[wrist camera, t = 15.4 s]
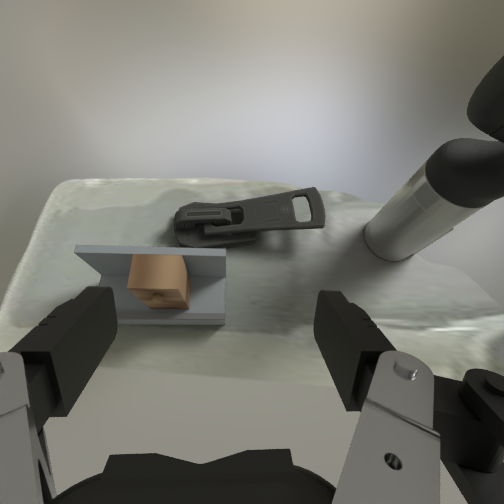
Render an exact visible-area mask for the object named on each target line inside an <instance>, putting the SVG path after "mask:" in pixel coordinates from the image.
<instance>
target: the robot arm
mask: <svg viewBox="0 0 504 504" xmlns="http://www.w3.org/2000/svg"><path fill="white" fill-rule="evenodd" d="M467 116H468V118H469V120H470V122H471V123H472V124H473V125H474V126H476V127H477V128H478V129H479V130H481V131H483V132H485V133H486V134H489V136H491V137H493V138H495V139H497V140H499V141H485V140H477V139H470V138H460V139H454V140H451V141H448V142H446V143H445V144H443V145H442V146H441V147H439V148H438V149H437V150H436V151H435V152H434V153H433V154H432V155H431V157H430V158H429V159H428V160H427V161H426V162H425V163H424V164H423V165H422V166H421V167H420V168H419V170H417V172H416V173H415V174H414V175H413V176H412V177H411V178H410V179H409V181H407V182H406V183H405V184H404V186H403V187H402V188H401V189H400V190H399V191H398V192H397V193H396V194H395V195H394V196H393V197H392V198H391V200H389V202H388V203H387V204H386V205H385V206H384V207H383V208H382V209H381V210H380V211H379V212H378V213H377V214H376V215H375V216H374V218H373V219H372V220H371V221H370V222H369V223H368V224H367V226H366V228H365V233H364V234H365V240H366V243H367V245H368V247H369V248H370V249H371V250H372V252H374V253H375V254H376V255H377V256H379V257H381V258H383V259H385V260H389V261H400V260H403V259H405V258H407V257H408V256H410V255H411V254H416V253H418V252H419V251H421V250H422V249H424V248H426V247H427V246H429V245H430V244H432V243H433V242H435V241H436V240H438V239H439V238H441V237H443V236H444V235H446V234H447V233H449V232H450V231H452V230H453V227H454V226H456V225H457V224H459V223H460V222H462V221H463V220H465V219H466V218H468V217H469V216H470V215H472V214H474V213H475V212H477V211H478V210H480V209H481V208H483V207H485V206H486V205H488V204H489V203H491V202H493V201H494V200H496V199H499V198H501V197H503V196H504V56H503V57H502V58H501V59H500V60H499V61H498V62H497V63H496V64H495V65H494V66H493V68H492V69H491V70H490V71H489V72H488V73H487V74H486V75H485V77H484V78H483V80H482V81H481V82H480V84H479V85H478V86H477V88H476V89H475V91H474V93H473V95H472V97H471V98H470V101H469V103H468V107H467ZM117 327H118V321H117V314H116V307H115V300H114V293H113V290H112V288H111V287H99V286H88V287H87V288H86V289H84V290H83V291H82V292H81V293H80V294H79V295H78V296H77V297H76V298H75V299H71V300H69V301H67V302H65V303H64V304H62V305H60V306H58V307H56V308H55V309H54V310H53V311H52V312H51V313H50V314H49V315H48V316H47V318H44V319H43V320H42V321H41V322H40V323H39V324H38V326H36V327H35V328H33V329H32V330H31V331H30V332H29V333H28V334H27V335H26V336H25V337H24V338H22V339H21V340H20V341H19V342H18V343H17V344H16V345H15V346H14V347H13V348H12V349H10V350H9V351H8V352H2V353H0V504H440V459H441V461H442V462H443V464H444V465H445V467H446V469H447V470H448V472H449V474H450V475H451V477H452V478H453V480H454V481H455V483H456V485H457V487H458V488H459V490H460V491H461V493H462V495H463V496H464V498H465V500H466V501H467V503H468V504H504V462H503V460H504V376H502V375H499V374H497V373H494V372H492V371H488V370H484V369H470V370H468V371H467V372H466V373H465V376H464V378H463V380H462V381H458V380H453V379H449V378H444V377H440V376H436V375H433V373H432V371H431V369H430V368H429V367H428V366H427V365H426V364H425V363H423V362H422V361H421V360H419V359H418V358H416V357H414V356H412V355H410V354H407V353H404V352H400V351H397V350H396V349H395V348H394V346H393V345H392V344H391V343H390V342H389V340H388V339H387V338H386V337H385V335H384V334H383V333H382V332H381V330H380V329H379V328H377V326H376V324H375V323H374V322H373V321H371V318H370V317H369V316H368V314H367V313H366V312H365V311H364V310H363V309H361V308H360V307H358V306H357V305H355V304H354V303H349V302H348V300H347V299H346V298H345V297H344V295H343V294H342V293H341V291H329V290H321V291H320V292H319V295H318V300H317V306H316V312H315V319H314V336H315V340H316V342H317V344H318V347H319V349H320V351H321V354H322V356H323V358H324V360H325V363H326V365H327V367H328V370H329V372H330V374H331V376H332V379H333V381H334V383H335V386H336V388H337V390H338V392H339V395H340V397H341V399H342V402H343V404H344V406H345V408H346V411H360V412H361V414H360V417H359V420H358V423H357V426H356V429H355V432H354V435H353V439H352V442H351V445H350V448H349V451H348V454H347V457H346V461H345V464H344V467H343V470H342V473H341V476H340V480H339V482H338V486H337V488H335V487H334V486H333V485H332V484H331V483H329V482H328V481H326V480H325V479H323V478H322V477H321V476H319V475H317V474H315V473H313V472H312V471H309V470H307V469H304V468H302V467H299V466H295V465H293V463H292V457H291V452H290V449H267V450H246V451H243V452H240V453H237V454H234V455H231V456H227V457H224V458H221V459H218V460H215V461H211V462H208V463H205V464H196V463H192V462H188V461H184V460H180V459H176V458H173V457H169V456H164V455H160V454H157V453H148V454H119V455H110V456H109V458H108V461H107V463H106V466H105V468H104V471H103V473H100V474H97V475H94V476H92V477H90V478H87V479H85V480H83V481H81V482H79V483H77V484H75V485H73V486H72V487H70V488H68V489H67V490H65V491H64V492H62V493H61V494H59V495H57V494H56V490H55V485H54V479H53V473H52V468H51V462H50V457H49V452H48V446H47V441H46V435H45V431H44V427H43V426H44V424H45V423H46V421H47V420H48V418H49V417H67V415H68V414H69V412H70V410H71V409H72V407H73V406H74V404H75V402H76V401H77V399H78V397H79V396H80V394H81V392H82V391H83V389H84V388H85V386H86V384H87V383H88V381H89V379H90V378H91V376H92V375H93V373H94V371H95V370H96V368H97V366H98V365H99V363H100V362H101V360H102V358H103V357H104V355H105V353H106V352H107V350H108V348H109V347H110V345H111V344H112V342H113V340H114V339H115V336H116V333H117Z"/></svg>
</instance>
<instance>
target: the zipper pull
mask: <svg viewBox="0 0 504 504" xmlns="http://www.w3.org/2000/svg"><path fill="white" fill-rule="evenodd" d="M302 196H304V197H306V199H307V200H308V202H309V207H310V211H311V221H308V222H298V221H296V218H295V212H294V207H293V202H292V199H293V198H294V197H302ZM324 226H325V209H324V205H323V201H322V198H321V196H320V194H319V192H318V191H317V189H316V188H315V187H312V188H306V189H301V190H295V191H290V192H285V193H280V194H274V195H269V196H264V197H258V198H253V199H247V200H242V201H234V202H226V203H218V204H214V203H199V202H193V203H191V204H188V205H185V206H183V207H180V208H179V211H177V212H176V214H175V222H174V230H175V233H176V236H177V239H178V241H179V244H180V246H181V248H212V249H224V248H230V247H237V246H243V245H250V244H254V243H255V241H256V239H257V237H258V235H259V233H260V231H269V230H292V229H318V228H324Z"/></svg>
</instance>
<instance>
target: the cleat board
mask: <svg viewBox="0 0 504 504" xmlns="http://www.w3.org/2000/svg"><path fill="white" fill-rule="evenodd" d="M74 253H75V254H77V255H78V256H79V257H80V258H81V259H83V260H84V261H85V262H86V263H88V264H89V265H90V266H91V267H93V268H94V269H95V270H96V271H97V272H99V273H100V274H101V279H100V284H99V287H111V288H112V290H113V293H114V300H115V307H116V314H117V321H118V324H131V325H225V294H226V249H212V248H175V247H139V246H102V245H76V247H75V250H74ZM133 254H150V255H182V258H183V260H184V263H185V266H186V268H187V271H188V274H189V277H190V279H191V294H190V306H189V309H150V308H149V307H148V306H146V305H145V304H144V303H143V302H142V301H141V300H140V299H139V298H137V297H136V296H135V295H134V294H133V293H132V292H131V291H130V290H128V289H127V285H128V280H129V274H130V269H131V263H132V258H133Z"/></svg>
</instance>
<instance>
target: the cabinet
mask: <svg viewBox="0 0 504 504" xmlns="http://www.w3.org/2000/svg"><path fill="white" fill-rule="evenodd" d="M127 289H128V290H130V291H131V292H132V293H133V294H134V295H135V296H136V297H137V298H139V299H140V300H141V301H142V302H143V303H144V304H145V305H146V306H148V307H149V308H150V309H189V306H190V294H191V279H190V277H189V274H188V271H187V268H186V266H185V263H184V260H183V258H182V255H150V254H133V258H132V263H131V269H130V274H129V280H128V285H127Z"/></svg>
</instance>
